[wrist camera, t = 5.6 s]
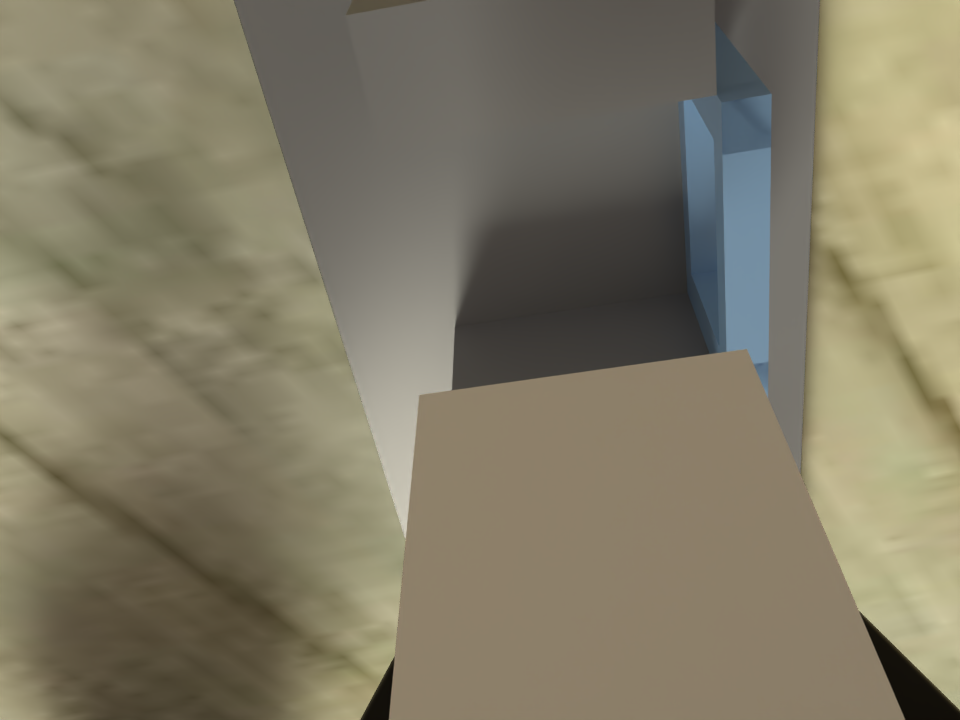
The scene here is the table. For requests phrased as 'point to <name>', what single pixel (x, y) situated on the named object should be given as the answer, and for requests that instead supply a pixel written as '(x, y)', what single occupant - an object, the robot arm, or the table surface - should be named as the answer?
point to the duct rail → (547, 188)
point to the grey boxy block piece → (622, 557)
